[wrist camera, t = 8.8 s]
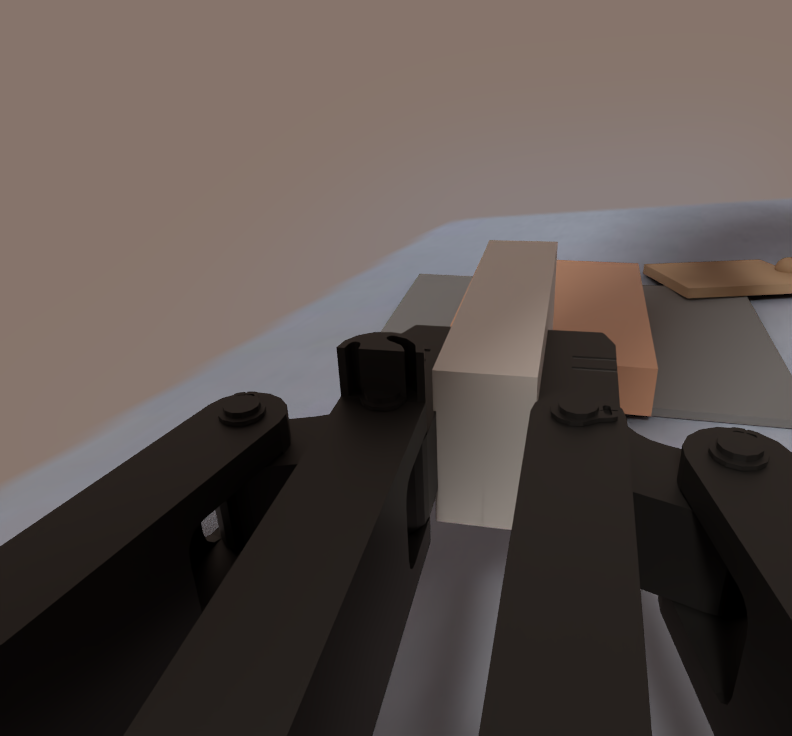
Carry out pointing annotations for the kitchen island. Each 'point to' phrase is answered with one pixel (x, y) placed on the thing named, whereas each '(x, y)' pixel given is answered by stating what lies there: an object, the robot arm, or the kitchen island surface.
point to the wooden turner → (724, 277)
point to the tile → (610, 322)
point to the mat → (668, 351)
